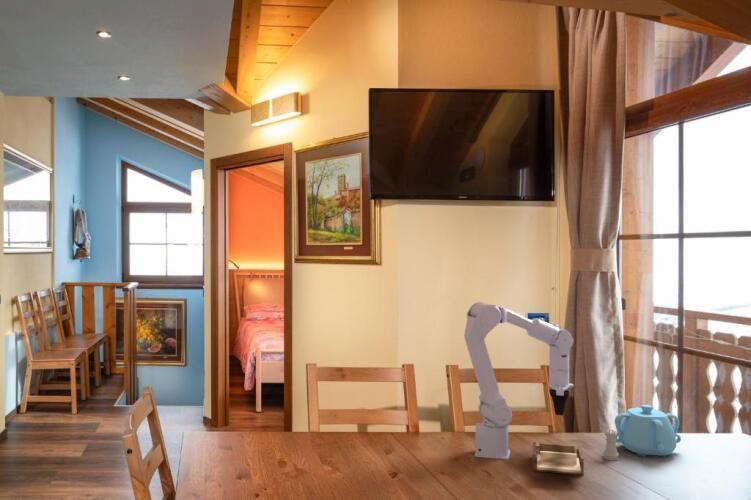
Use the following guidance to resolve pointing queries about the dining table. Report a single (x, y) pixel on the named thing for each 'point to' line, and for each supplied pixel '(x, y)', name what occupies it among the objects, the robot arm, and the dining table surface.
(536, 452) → the box
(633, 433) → the decorative pot
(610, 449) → the rook chess piece
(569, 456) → the lid
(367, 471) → the dining table surface
